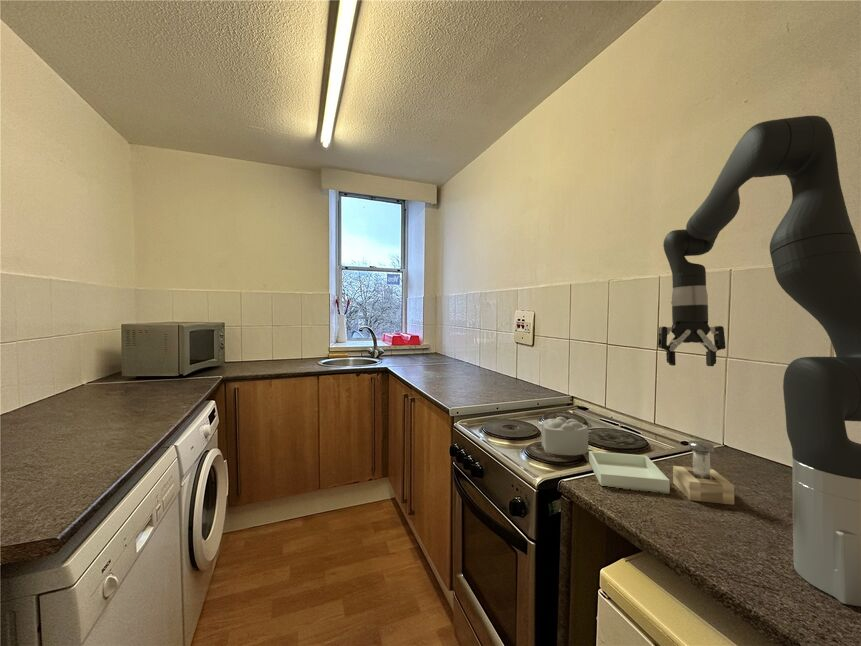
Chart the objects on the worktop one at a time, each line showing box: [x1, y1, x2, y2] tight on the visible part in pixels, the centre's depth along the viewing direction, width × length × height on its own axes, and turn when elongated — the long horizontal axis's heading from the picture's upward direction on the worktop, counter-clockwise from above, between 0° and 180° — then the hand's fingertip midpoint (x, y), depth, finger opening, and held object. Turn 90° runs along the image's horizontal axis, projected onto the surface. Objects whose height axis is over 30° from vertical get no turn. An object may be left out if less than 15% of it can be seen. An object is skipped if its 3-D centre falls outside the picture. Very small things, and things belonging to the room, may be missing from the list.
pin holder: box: [672, 465, 735, 505], centre depth 74 cm, size 8×8×4 cm
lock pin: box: [688, 439, 715, 479], centre depth 74 cm, size 4×4×11 cm
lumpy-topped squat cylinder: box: [540, 416, 589, 456], centre depth 101 cm, size 10×13×9 cm
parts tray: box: [588, 450, 671, 495], centre depth 83 cm, size 14×14×3 cm
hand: (691, 365), depth 88 cm, fingers open, 8 cm apart
